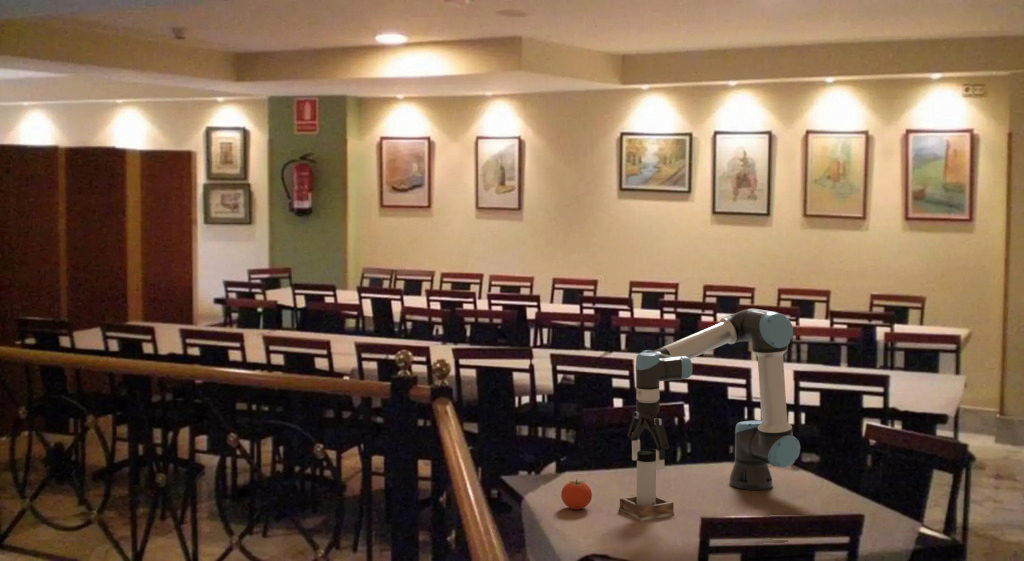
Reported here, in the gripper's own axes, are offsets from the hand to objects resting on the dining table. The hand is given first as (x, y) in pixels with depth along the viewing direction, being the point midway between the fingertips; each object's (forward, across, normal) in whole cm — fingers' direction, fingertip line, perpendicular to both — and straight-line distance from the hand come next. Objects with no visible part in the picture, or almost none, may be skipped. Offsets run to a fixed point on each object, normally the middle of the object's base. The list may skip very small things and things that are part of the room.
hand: (648, 464), depth 342 cm
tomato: (+16, -14, -19) cm, 29 cm away
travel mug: (+15, 0, -1) cm, 15 cm away
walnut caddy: (+16, 0, -1) cm, 16 cm away
